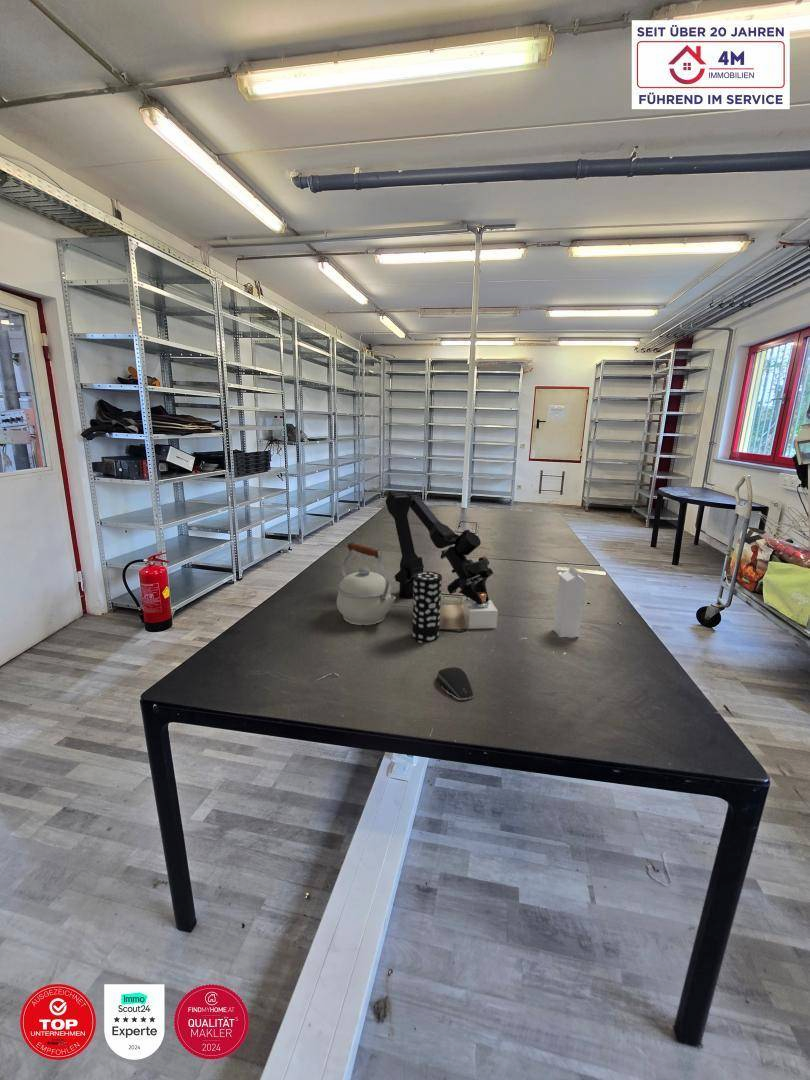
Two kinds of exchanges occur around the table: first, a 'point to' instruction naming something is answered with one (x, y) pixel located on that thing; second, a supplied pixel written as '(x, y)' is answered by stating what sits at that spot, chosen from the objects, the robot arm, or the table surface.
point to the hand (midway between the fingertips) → (484, 602)
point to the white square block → (480, 615)
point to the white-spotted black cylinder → (426, 606)
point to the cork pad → (452, 617)
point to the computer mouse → (455, 682)
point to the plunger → (483, 599)
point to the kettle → (364, 591)
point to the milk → (569, 604)
